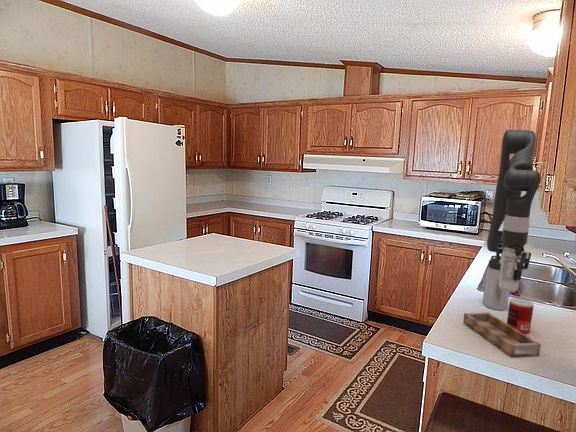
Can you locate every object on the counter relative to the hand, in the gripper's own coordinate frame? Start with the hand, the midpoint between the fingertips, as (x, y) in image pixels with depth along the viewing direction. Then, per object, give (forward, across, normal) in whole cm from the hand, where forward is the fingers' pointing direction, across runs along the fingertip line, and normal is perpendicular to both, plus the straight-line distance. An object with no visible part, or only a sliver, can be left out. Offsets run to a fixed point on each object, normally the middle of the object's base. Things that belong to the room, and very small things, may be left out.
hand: (509, 276), depth 137 cm
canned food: (+24, +8, -13) cm, 28 cm away
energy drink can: (+5, 0, 0) cm, 5 cm away
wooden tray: (+23, +2, 0) cm, 23 cm away
